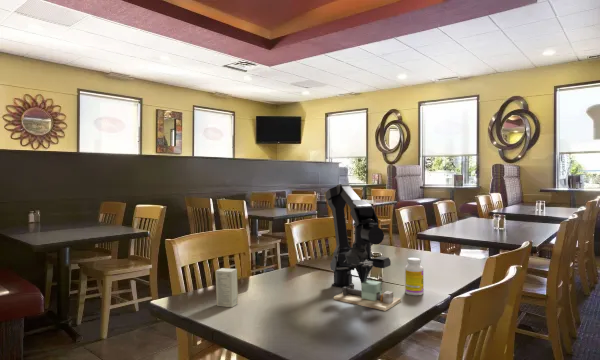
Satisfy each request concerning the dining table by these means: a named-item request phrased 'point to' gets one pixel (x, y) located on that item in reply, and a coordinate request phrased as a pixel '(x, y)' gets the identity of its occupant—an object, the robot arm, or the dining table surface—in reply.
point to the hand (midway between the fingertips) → (363, 283)
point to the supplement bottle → (414, 277)
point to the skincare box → (226, 287)
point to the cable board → (355, 297)
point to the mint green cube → (371, 289)
